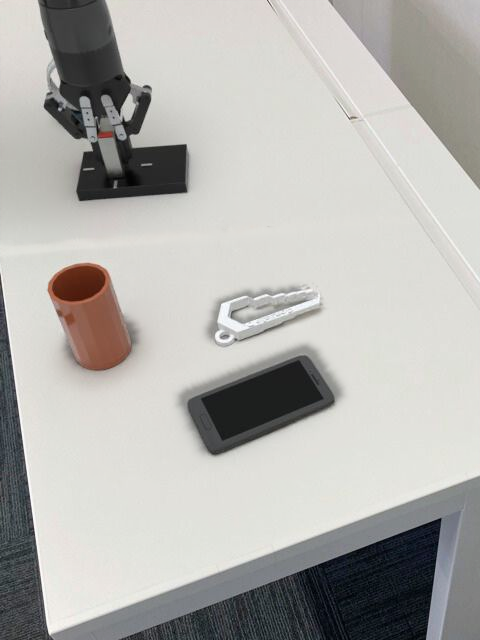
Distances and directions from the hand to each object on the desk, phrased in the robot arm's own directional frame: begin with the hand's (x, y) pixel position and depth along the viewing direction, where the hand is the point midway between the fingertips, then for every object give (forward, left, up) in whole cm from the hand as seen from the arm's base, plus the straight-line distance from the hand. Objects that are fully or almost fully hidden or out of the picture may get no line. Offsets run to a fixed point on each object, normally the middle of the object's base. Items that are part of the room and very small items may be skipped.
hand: (115, 160), depth 102 cm
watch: (-6, +16, -4) cm, 18 cm away
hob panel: (+2, 0, -4) cm, 5 cm away
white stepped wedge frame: (+18, -27, -4) cm, 33 cm away
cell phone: (+17, -40, -4) cm, 44 cm away
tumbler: (0, -30, -4) cm, 30 cm away
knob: (0, 0, -1) cm, 1 cm away
